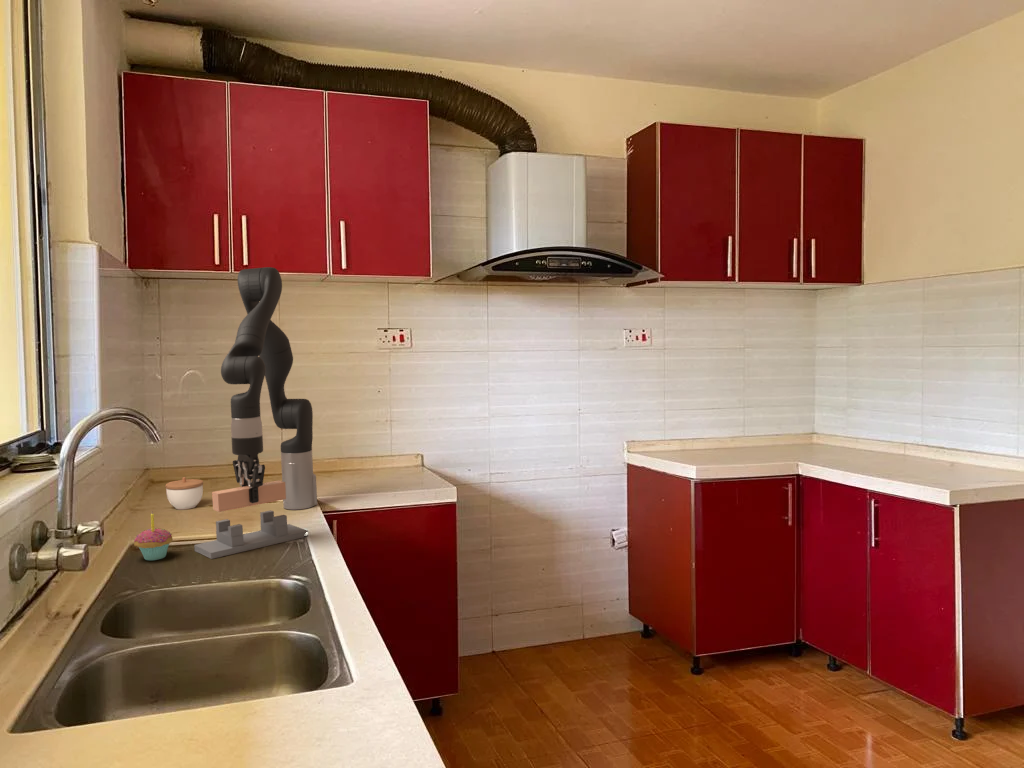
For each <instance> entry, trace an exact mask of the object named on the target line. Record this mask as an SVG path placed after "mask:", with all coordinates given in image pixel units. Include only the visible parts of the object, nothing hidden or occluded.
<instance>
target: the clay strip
mask: <svg viewBox="0 0 1024 768" xmlns="http://www.w3.org/2000/svg"><path fill="white" fill-rule="evenodd" d="M211 496H212V497H211V499H212V511H216V512H217V513H220V512H226V511H231V510H236V509H240V508H241V509H242V508H246V507H247V508H249V507H251V506H252V507H253V506H256V505H261V504H268V503H273V502H278V501H283V500H284V499H286V487H285V482H283V481H282V480H275V481H267V482H263V485H262V486H259V487H258V496H259V501H258V502H256V503H250V502H249V487H248V486H244V487H242V486H239V487H234V488H233V487H232V488H227V489H222V490H221V489H220V490H215V491H212V492H211Z"/></svg>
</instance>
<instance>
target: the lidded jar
mask: <svg viewBox="0 0 1024 768" xmlns="http://www.w3.org/2000/svg"><path fill="white" fill-rule="evenodd" d="M203 486H204V480H202V479H195V478H193V479H192V478H190V479H189V478H187V477H186V476H184V477H183V476H182V478H181V479H179V480H173V481H170V482H169V481H168V482H167V483H166V484H165V490H166V498H167V500H168V502H169V503H170V505H171V506H172V507H174V509H175V510H179V511H181V510H188V509H189V510H190V509H195V508H197V505H198V504H199V503H200V502H201V500H202V499H203V492H204V488H203Z"/></svg>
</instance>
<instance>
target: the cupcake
mask: <svg viewBox="0 0 1024 768" xmlns="http://www.w3.org/2000/svg"><path fill="white" fill-rule="evenodd" d="M150 525H151V528H148V529H145V530H143V531H141V532H139V534H137V535H136V537H135V538H133V540H134V541H133V542H134V544H133V545H134V547H137V548H139V550H140V552H141V554H142V556H143V559H144V560H145V561H157V560H162V559H164V558H166V556H167V552H168V549H169V546H170V543H172V542H173V536H172V535H173V534H172V533H171V532H170V531H168V530H167V529H163V528H158V527H156V528H155V514H154V513H153V511H151V513H150Z"/></svg>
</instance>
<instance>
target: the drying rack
mask: <svg viewBox="0 0 1024 768" xmlns="http://www.w3.org/2000/svg"><path fill="white" fill-rule="evenodd" d="M274 513H275V512H274V510H266V511H260V513H259V514H260V515H259V516H260V530H256V531H251V532H248V533H247V532H246V533H244V529H243V528H244V527H243V526H244V525H243V524H240V523H238V524H232V525H231V520H230V519H228V518H227V519H222V520H216V521H215V532H216V533H215V534H216V537H215V538H216V539H214V540H211V541H206V542H202V543H197V544H196V543H195V544H194V545H193V546H194V552H196V553H198V554H201V555H203V556H204V557H207V558H209V559H211V560H213V559H219V558H222V557H225V556H230V555H234V554H239V553H243V552H246V551H250V550H251V551H252V550H255V549H259V548H264V547H269V546H273V545H276V544H280V543H286V542H289V541H294V540H298V539H302V538H305V537H304V534H305V533H306V532H308V533H309V530H307V529H304V528H303V527H299V526H296V525H293V524H291V523H288V517H287V515H286V514H281V515H276V516H275V514H274Z"/></svg>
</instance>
